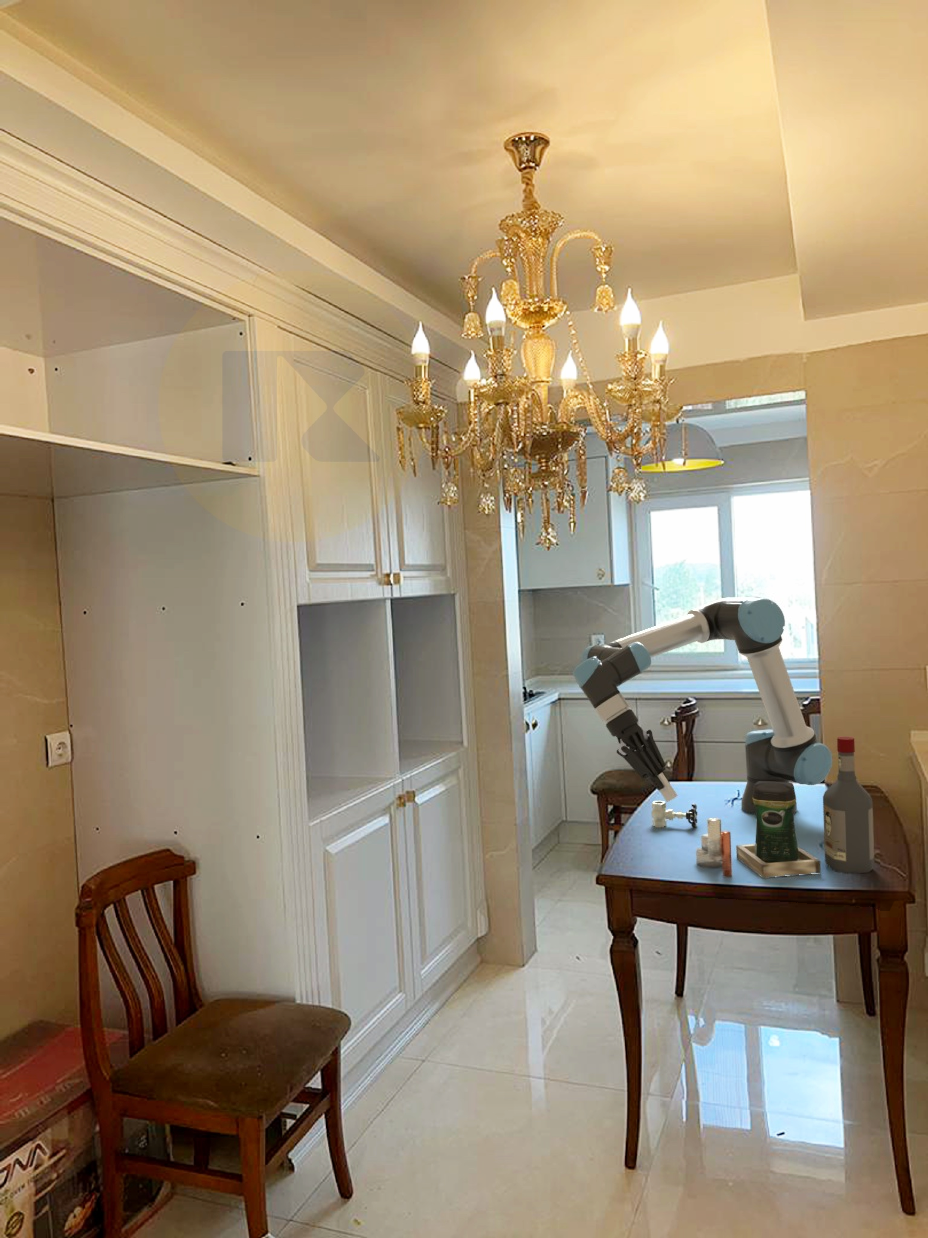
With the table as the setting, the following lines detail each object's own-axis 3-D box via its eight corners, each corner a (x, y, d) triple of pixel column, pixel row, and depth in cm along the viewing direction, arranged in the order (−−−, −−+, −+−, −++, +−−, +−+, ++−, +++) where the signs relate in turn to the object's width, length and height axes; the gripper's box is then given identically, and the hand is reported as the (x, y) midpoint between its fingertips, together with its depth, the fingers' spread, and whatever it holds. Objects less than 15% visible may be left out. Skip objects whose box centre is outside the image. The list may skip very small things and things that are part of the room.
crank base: (720, 858, 219) (718, 817, 219) (742, 876, 206) (741, 832, 205) (692, 860, 219) (690, 819, 218) (712, 878, 205) (711, 835, 205)
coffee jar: (800, 857, 213) (798, 779, 212) (796, 867, 206) (793, 787, 205) (758, 853, 218) (755, 777, 217) (752, 863, 211) (749, 784, 210)
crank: (700, 846, 218) (699, 807, 217) (719, 846, 217) (718, 807, 217) (706, 863, 205) (704, 821, 205) (726, 863, 204) (724, 821, 204)
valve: (650, 829, 247) (695, 831, 243) (649, 805, 247) (694, 807, 242) (654, 822, 253) (697, 824, 249) (653, 799, 253) (696, 801, 249)
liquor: (859, 860, 213) (856, 733, 211) (878, 872, 204) (874, 740, 202) (821, 862, 213) (817, 735, 211) (838, 875, 203) (834, 742, 202)
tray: (789, 853, 220) (789, 841, 220) (820, 873, 205) (820, 860, 204) (736, 857, 219) (736, 845, 219) (763, 878, 203) (763, 865, 203)
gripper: (622, 713, 229) (675, 794, 224) (592, 731, 220) (647, 815, 215) (641, 700, 223) (696, 782, 219) (612, 718, 214) (668, 804, 210)
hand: (672, 799), depth 217 cm, fingers closed
